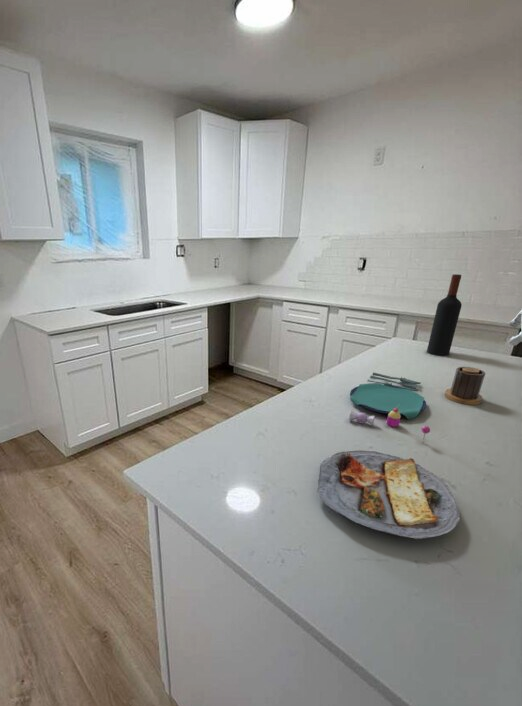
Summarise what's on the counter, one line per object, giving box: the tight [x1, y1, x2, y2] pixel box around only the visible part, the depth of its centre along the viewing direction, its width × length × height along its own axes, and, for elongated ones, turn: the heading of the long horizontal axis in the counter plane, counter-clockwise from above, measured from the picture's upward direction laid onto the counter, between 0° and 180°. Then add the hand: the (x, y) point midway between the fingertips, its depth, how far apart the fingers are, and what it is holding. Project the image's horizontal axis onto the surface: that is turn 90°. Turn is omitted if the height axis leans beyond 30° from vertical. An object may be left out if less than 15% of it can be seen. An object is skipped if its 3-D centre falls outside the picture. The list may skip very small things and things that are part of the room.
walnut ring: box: [450, 366, 486, 399], centre depth 105 cm, size 7×7×8 cm
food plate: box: [316, 450, 461, 540], centre depth 69 cm, size 25×23×4 cm
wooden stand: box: [444, 366, 483, 406], centre depth 105 cm, size 9×9×9 cm
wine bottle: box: [426, 273, 463, 357], centre depth 138 cm, size 8×8×30 cm
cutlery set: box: [349, 372, 427, 420], centre depth 109 cm, size 20×30×2 cm, turn 143°
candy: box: [348, 405, 431, 444], centre depth 92 cm, size 18×8×6 cm, turn 57°
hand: (511, 334), depth 102 cm, fingers open, 8 cm apart
